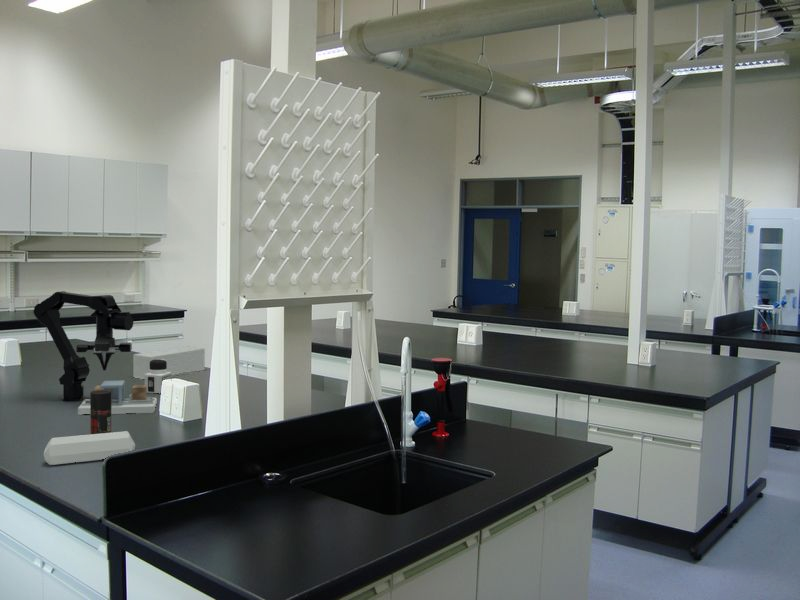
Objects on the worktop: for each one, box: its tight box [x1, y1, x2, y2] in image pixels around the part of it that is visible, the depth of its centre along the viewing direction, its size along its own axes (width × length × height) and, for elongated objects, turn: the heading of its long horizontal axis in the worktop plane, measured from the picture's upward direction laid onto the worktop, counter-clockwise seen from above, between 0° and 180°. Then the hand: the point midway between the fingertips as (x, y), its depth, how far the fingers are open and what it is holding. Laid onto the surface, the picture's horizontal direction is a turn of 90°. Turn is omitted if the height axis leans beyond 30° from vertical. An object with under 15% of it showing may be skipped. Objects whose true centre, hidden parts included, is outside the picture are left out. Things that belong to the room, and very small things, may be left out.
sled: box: [94, 384, 154, 402], centre depth 261 cm, size 19×5×5 cm, turn 105°
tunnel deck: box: [77, 379, 158, 416], centre depth 261 cm, size 25×14×10 cm, turn 105°
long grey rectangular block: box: [132, 345, 206, 380], centre depth 328 cm, size 32×11×11 cm, turn 150°
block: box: [131, 384, 148, 400], centre depth 262 cm, size 4×4×4 cm
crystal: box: [43, 430, 136, 466], centre depth 205 cm, size 7×7×24 cm
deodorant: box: [89, 390, 112, 434], centre depth 222 cm, size 6×6×15 cm
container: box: [144, 359, 172, 395], centre depth 291 cm, size 8×8×13 cm
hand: (104, 370), depth 271 cm, fingers closed
